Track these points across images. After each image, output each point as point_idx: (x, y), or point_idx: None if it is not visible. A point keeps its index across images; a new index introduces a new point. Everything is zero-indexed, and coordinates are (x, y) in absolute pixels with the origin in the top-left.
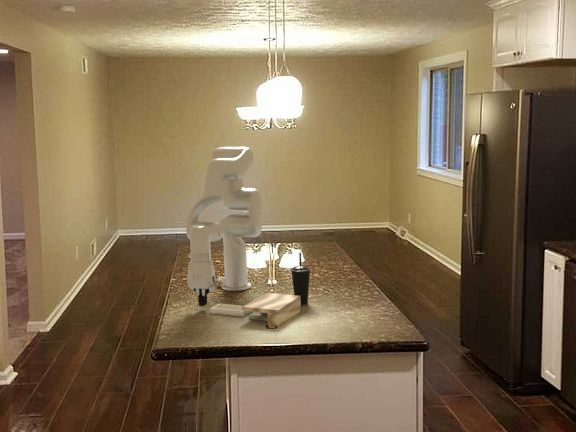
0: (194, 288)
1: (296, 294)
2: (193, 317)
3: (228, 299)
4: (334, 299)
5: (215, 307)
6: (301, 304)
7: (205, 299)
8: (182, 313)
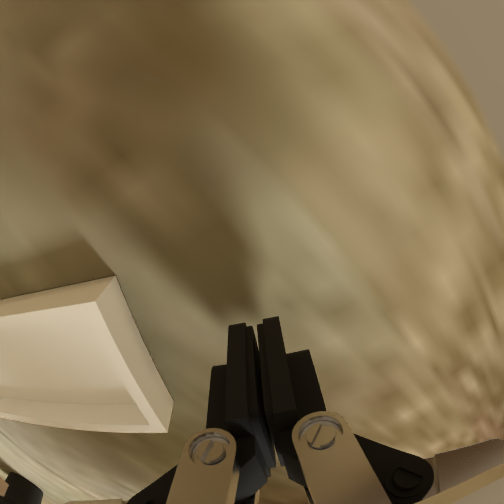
0: (424, 490)
1: (6, 498)
2: (154, 79)
3: (275, 494)
4: None
5: (119, 363)
6: (10, 473)
7: (213, 407)
8: (370, 132)
